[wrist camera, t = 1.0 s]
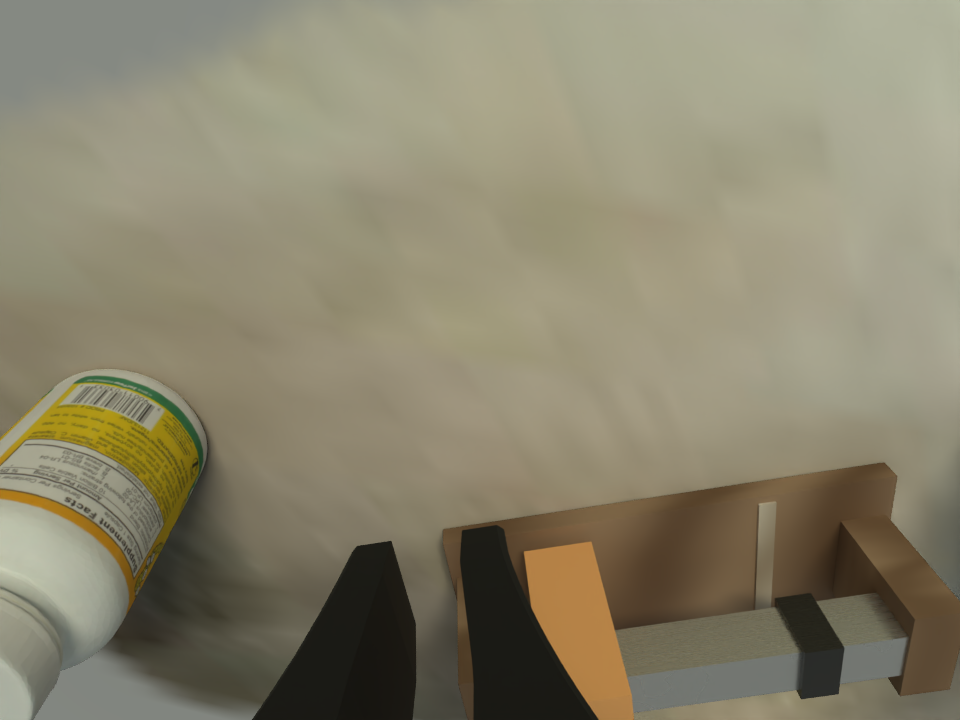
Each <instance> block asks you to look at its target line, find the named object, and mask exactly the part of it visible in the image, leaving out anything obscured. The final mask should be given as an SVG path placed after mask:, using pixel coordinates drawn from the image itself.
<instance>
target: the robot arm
mask: <svg viewBox="0 0 960 720" xmlns="http://www.w3.org/2000/svg"><path fill="white" fill-rule="evenodd" d="M460 567H461V575H462V584H463V592H464V600H465V608H466V616H467V624H468V632H469V641H470V649H471V657H472V669H473V684H474V694H473V720H599V719H598V718H597V716H596V715H595V713H594V712H593V710H592V709H591V707H590V706H589V705H588V703H587V702H586V700H585V699H584V697H583V696H582V694H581V693H580V691H579V690H578V688H577V687H576V685H575V684H574V682H573V680H572V679H571V677H570V676H569V674H568V673H567V671H566V669H565V668H564V666H563V664H562V663H561V661H560V659H559V658H558V656H557V654H556V653H555V651H554V649H553V647H552V646H551V644H550V642H549V641H548V639H547V637H546V635H545V633H544V631H543V630H542V628H541V626H540V624H539V622H538V620H537V618H536V616H535V614H534V612H533V610H532V608H531V606H530V604H529V602H528V600H527V598H526V596H525V593H524V591H523V589H522V587H521V585H520V582H519V580H518V577H517V575H516V572H515V569H514V567H513V564H512V561H511V558H510V555H509V552H508V547H507V542H506V536H505V531H504V529H503V528H501V527H500V526H498V525H493V526H486V527H480V528H473V529H467V530H462V536H461V549H460ZM415 688H416V623H415V620H414V616H413V613H412V609H411V606H410V603H409V599H408V596H407V592H406V589H405V586H404V582H403V579H402V575H401V572H400V569H399V565H398V562H397V559H396V555H395V552H394V548H393V545H392V542H391V541H387V542H381V543H374V544H368V545H361V546H357V547H356V548H355V549H354V551H353V552H352V554H351V556H350V558H349V560H348V561H347V563H346V565H345V567H344V569H343V571H342V573H341V575H340V577H339V579H338V581H337V583H336V585H335V586H334V588H333V590H332V592H331V594H330V596H329V597H328V599H327V601H326V603H325V605H324V607H323V608H322V610H321V612H320V614H319V615H318V617H317V619H316V621H315V622H314V624H313V626H312V627H311V629H310V631H309V632H308V634H307V636H306V638H305V639H304V641H303V643H302V644H301V646H300V648H299V649H298V651H297V653H296V654H295V656H294V658H293V659H292V661H291V662H290V664H289V665H288V667H287V668H286V670H285V671H284V673H283V674H282V676H281V678H280V679H279V681H278V682H277V684H276V685H275V687H274V688H273V690H272V691H271V693H270V694H269V696H268V697H267V699H266V700H265V702H264V703H263V705H262V706H261V708H260V709H259V710H258V712H257V713H256V715H255V716H254V718H253V719H252V720H412V719H413V708H414V698H415Z"/></svg>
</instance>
